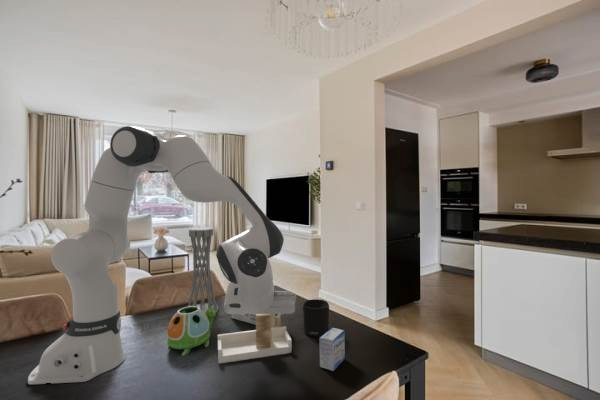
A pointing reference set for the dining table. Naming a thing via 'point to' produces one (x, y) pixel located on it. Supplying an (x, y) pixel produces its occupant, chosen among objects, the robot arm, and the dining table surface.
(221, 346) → the cream shelf
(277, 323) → the supplement box
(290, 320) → the dining table surface
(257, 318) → the oak blank
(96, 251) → the robot arm
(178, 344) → the turtle holder
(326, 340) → the medicine box
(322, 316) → the pen holder
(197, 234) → the vase
